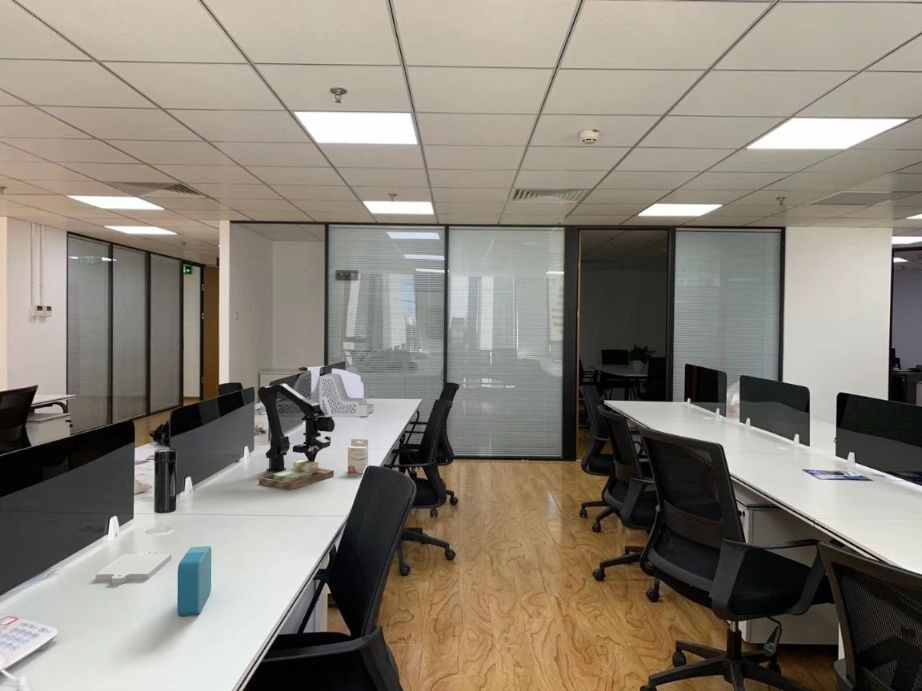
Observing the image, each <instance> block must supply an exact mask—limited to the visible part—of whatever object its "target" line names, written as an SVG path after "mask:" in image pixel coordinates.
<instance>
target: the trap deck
mask: <svg viewBox="0 0 922 691" xmlns="http://www.w3.org/2000/svg"><path fill="white" fill-rule="evenodd" d="M334 472H335V470H332V469H327V468H320V467H318V470H317V471H314V472H311V473H310V472H304V471H298V470H293V468H291V469H285V470H281V471H278V472H275V473H271V474H267V475H265V476H261V477H259V478H258V484H259V485H263V484H264V486H268V485H269V487H273V486H274V487H275V488H279V489H284V488H285V490H289V489H290V491H291V489H292V490H294V488H295V489H297V488H300V486H301V487H304V486H306V484H307V485H309V483H310V484H313V482H314V483H316V481H317V482H319V480H320V481H323V480H326V479H329V478H331V477H334V476H335V473H334ZM325 478H326V479H325ZM322 479H323V480H322ZM303 485H304V486H303ZM274 487H273V488H274Z"/></svg>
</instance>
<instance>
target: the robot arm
mask: <svg viewBox="0 0 922 691" xmlns="http://www.w3.org/2000/svg"><path fill="white" fill-rule="evenodd" d="M259 387H260V386H259ZM279 394H280V395H282V396H284V397H285V398H286V399H288V400H289V401H290V402H292V403H293V404H295V405H296V406H298V408H299V409H300V412H302V414H304V416H303V417H302V418H300V421H304V422H305V426H304V427H305V429H304V430H305V431H304V432H303V436H305V440H304V441H303V444H295V445H293V447H292V453H299V454H304V455H305V457H306V459H307V461H312V462H316V459H317V455H318V453H319V452H320V451H322V450H324V449H327V448H329V447H331V444H332V443H331V442H332V438H331V436H329V435H327V436H322V434H321V432H323V433H324V432H327V433H332V432H333V431H334V430H335V426H336V423H335V421H334V419H333V416H332V415H331V416H326V415H325V413H324V411H323V409H322V408H321V404H320V403H318V402H317V401H315V400H312V399H309V398H306V397H304V396H303V394H302V395H301V393H299V392H298V391H296V390H294V389H293V388H292V387H290V386H289V385H288V384H287V383H284V382H283V383H278V384H275V385H265V386H261V387H260V388H258V390H257V396H258V398H259V401H260V403H261V404H262V405H263V406H264V409H265V412H266V416H267V421H268V426H269V430H270V434H271V438H270V442H269V446H270V447H269V449H268V450H267V451H266V452H265V457H266V459H268V468H266V471H269V472H275V473H279V472H282V471H286V470H287V467H285V456H287V454H288V452H289V451H290V448H291V447H290V445H291V442H290V437H289V436H288V435H286V436H285V435H284V432H283V429H282V425H281V421H280V417H279V412H278V407H277V400H278V395H279Z"/></svg>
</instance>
